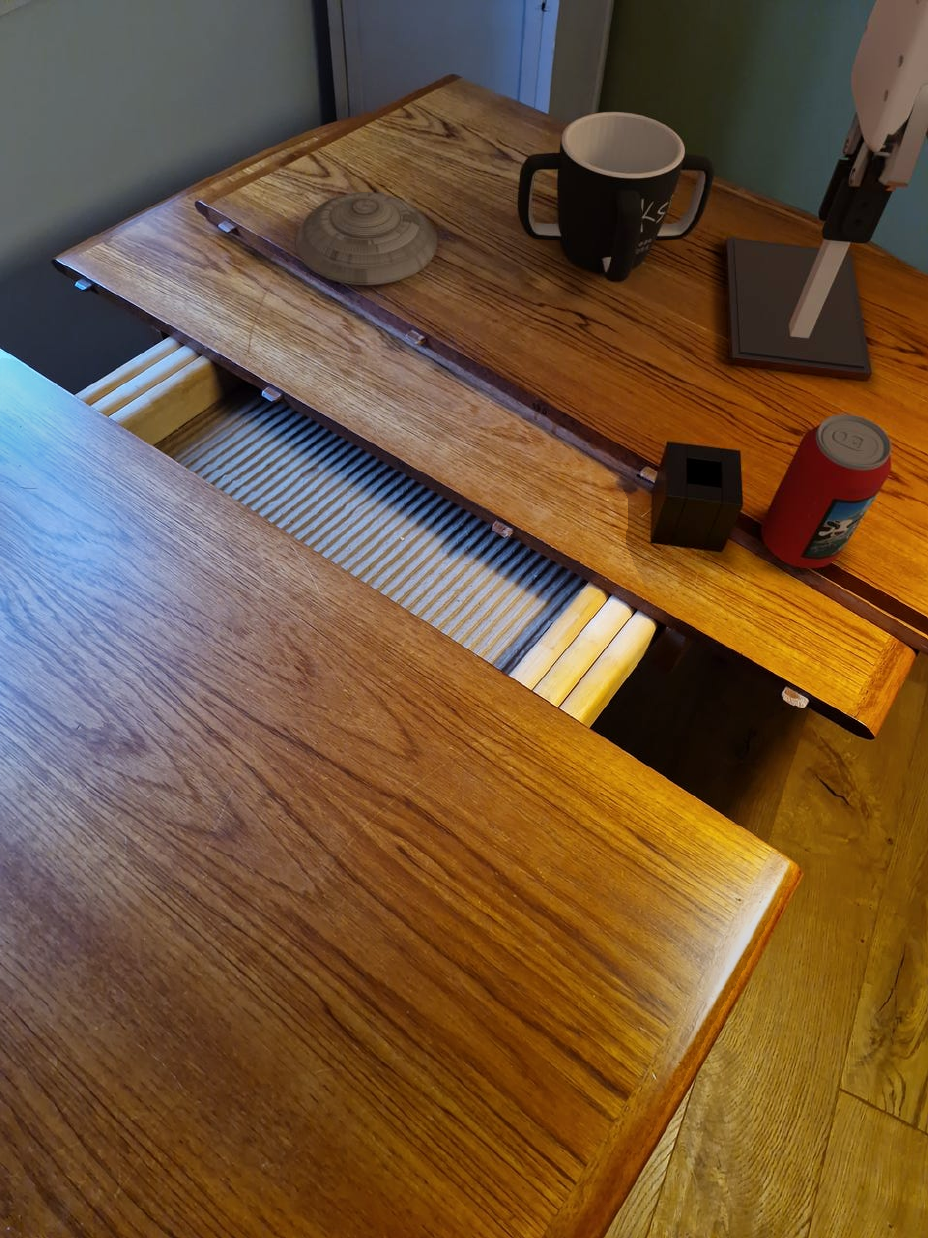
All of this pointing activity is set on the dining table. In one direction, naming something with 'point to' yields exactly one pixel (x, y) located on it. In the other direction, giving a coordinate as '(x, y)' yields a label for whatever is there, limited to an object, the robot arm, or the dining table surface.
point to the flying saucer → (366, 239)
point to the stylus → (819, 284)
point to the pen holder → (696, 496)
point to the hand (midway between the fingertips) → (842, 228)
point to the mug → (614, 191)
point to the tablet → (791, 312)
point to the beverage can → (827, 490)
